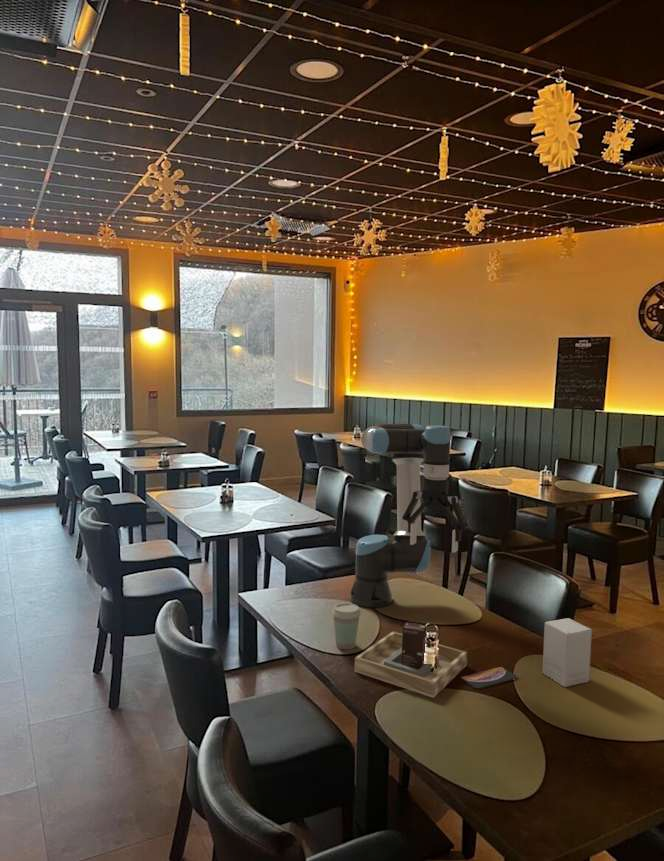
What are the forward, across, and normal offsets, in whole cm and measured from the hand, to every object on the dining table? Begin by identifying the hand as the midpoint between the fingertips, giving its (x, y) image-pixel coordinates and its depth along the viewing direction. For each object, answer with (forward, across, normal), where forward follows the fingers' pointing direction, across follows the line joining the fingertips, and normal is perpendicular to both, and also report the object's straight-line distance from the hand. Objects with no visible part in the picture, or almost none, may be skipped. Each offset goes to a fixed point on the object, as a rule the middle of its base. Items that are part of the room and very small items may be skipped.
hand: (433, 547), depth 192 cm
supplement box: (+31, +39, +4) cm, 50 cm away
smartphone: (+31, +22, -9) cm, 39 cm away
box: (+30, +2, -16) cm, 35 cm away
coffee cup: (+31, -21, -15) cm, 40 cm away
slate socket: (+31, +2, -16) cm, 35 cm away
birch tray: (+31, +2, -16) cm, 35 cm away
